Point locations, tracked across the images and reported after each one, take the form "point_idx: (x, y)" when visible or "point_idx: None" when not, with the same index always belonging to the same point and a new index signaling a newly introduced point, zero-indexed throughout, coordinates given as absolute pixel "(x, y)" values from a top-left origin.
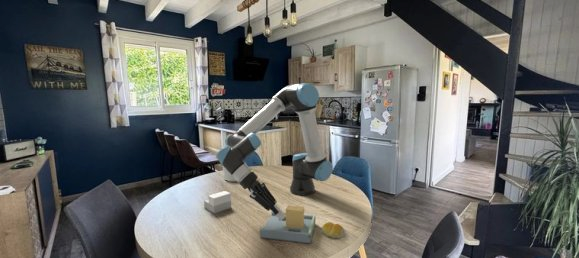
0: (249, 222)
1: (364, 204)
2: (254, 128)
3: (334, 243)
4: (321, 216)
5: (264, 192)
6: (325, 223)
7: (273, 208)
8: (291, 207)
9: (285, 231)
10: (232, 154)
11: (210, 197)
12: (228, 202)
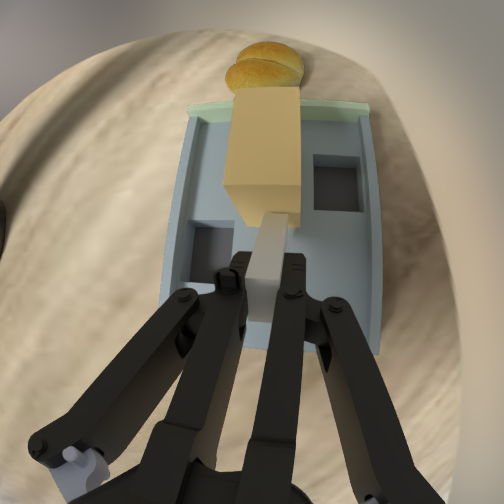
0: (222, 439)
1: (93, 57)
2: None
3: (330, 72)
4: (143, 126)
5: (204, 425)
6: (244, 78)
7: (305, 287)
8: (256, 152)
9: (375, 210)
10: None
11: None
12: None
